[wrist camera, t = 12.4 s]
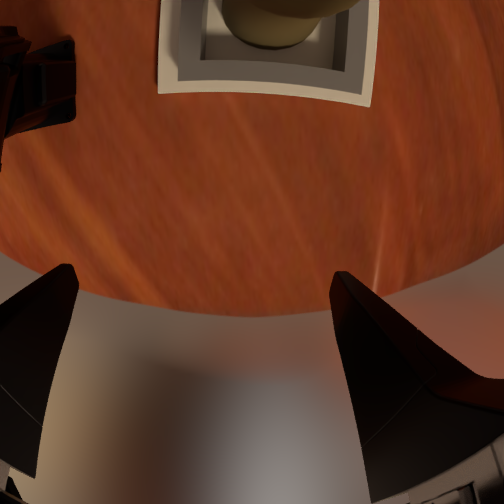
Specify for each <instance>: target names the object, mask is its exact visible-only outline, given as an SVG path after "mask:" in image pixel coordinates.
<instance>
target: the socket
mask: <svg viewBox="0 0 504 504" xmlns="http://www.w3.org/2000/svg"><path fill="white" fill-rule="evenodd" d="M221 12H222V0H161V13H160V29H159V52H158V94H162V93H180V92H250V93H267V94H281V95H291V96H301V97H310V98H317V99H325V100H331V101H338V102H344V103H350V104H355V105H360V106H366V107H370V104H371V96H372V88H373V79H374V70H375V60H376V48H377V35H378V18H379V0H360V1H359V2H358V3H357V4H355V5H354V6H353V7H352V8H349V9H347V10H345V11H342V12H339V13H337V14H334V15H332V16H329V17H323V18H321V20H320V21H319V23H318V24H317V26H316V28H315V29H314V31H313V32H312V33H311V34H310V35H309V36H308V37H307V38H306V39H305V40H304V41H303V42H301V43H299V44H297V45H295V46H293V47H291V48H286V49H281V50H264V49H258V48H255V47H253V46H250V45H247V44H245V43H243V42H242V41H241V40H239V39H238V38H236V37H235V36H234V35H233V34H232V33H231V32H230V30H229V29H228V28H227V26H226V25H225V22H224V19H223V16H222V13H221Z"/></svg>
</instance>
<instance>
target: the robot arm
mask: <svg viewBox="0 0 504 504" xmlns="http://www.w3.org/2000/svg"><path fill="white" fill-rule="evenodd" d="M31 43H32V42H31V41H27V40H25V38H22V37H19V35H18V32H17V27H15V26H0V172H1V166H2V163H1V156H2V149H3V142H4V139H6V138H8V137H10V136H13V135H15V134H17V133H21V132H25V131H29V130H33V129H38V128H42V127H47V126H51V125H56V124H61V123H67V122H70V121H73V120H74V119H75V117H76V105H75V95H76V63H75V62H74V49H75V44H74V41H72V40H65V41H62V42H59V43H56V44H53V45H50V46H47V47H44V48H42V49H39V50H36V51H34V52H31V53H28V54H26V52H27V51H28V50H29V48H30V45H31ZM67 44H69V48H68V49H67V48H66V46H67ZM68 113H70V114H71V117H70V118H69V117H68ZM78 290H79V282H78V279H77V276H76V273H75V270H74V267H73V266H72V265H71V264H60V265H59V266H57V267H55V268H54V269H52V270H51V271H49V272H48V273H46V274H44V275H43V276H41V277H40V278H38V279H37V280H35V281H34V282H32V283H31V284H29V285H28V286H26V287H25V288H23V289H22V290H20V291H19V292H18V293H16V294H15V295H14V296H12V297H11V298H9V299H8V300H6V301H5V302H4V303H2V304H1V305H0V504H28V503H26V502H24V501H23V500H22V498H21V496H20V494H19V492H18V490H17V488H16V486H15V484H14V481H13V479H12V478H11V477H9V476H8V474H9V469H10V467H12V468H13V469H15V470H17V471H19V472H21V473H23V474H25V475H27V476H29V477H32V478H35V476H36V468H37V460H38V459H37V458H38V452H39V445H40V439H41V433H42V426H43V421H44V416H45V411H46V407H47V402H48V398H49V393H50V389H51V385H52V381H53V377H54V374H55V370H56V366H57V363H58V359H59V356H60V352H61V349H62V346H63V343H64V340H65V337H66V334H67V331H68V327H69V324H70V321H71V317H72V312H73V309H74V304H75V301H76V297H77V293H78ZM329 298H330V304H331V311H332V317H333V325H334V331H335V337H336V341H337V345H338V349H339V352H340V356H341V360H342V364H343V368H344V372H345V376H346V380H347V385H348V389H349V393H350V397H351V402H352V406H353V411H354V415H355V420H356V424H357V429H358V434H359V439H360V444H361V447H362V448H361V449H362V454H363V460H364V465H365V471H366V476H367V482H368V487H369V494H370V499H371V503H372V504H373V503H376V502H380V501H383V500H386V499H390V498H393V497H396V496H399V495H402V494H405V493H408V495H409V500H410V503H407V504H504V379H493V378H486V377H483V376H480V375H478V374H476V373H474V372H473V371H472V370H470V369H469V368H467V367H466V366H465V365H463V364H462V363H461V362H459V361H458V360H457V359H455V358H454V357H453V356H451V355H450V354H449V353H447V352H446V351H445V350H443V349H442V348H441V347H439V346H438V345H436V344H435V343H434V342H433V341H432V340H431V339H429V338H428V337H427V336H426V335H424V334H423V333H422V332H421V331H420V330H417V328H416V327H415V326H414V325H413V324H412V323H410V322H409V321H408V320H407V319H405V318H404V317H403V316H402V315H401V314H400V313H398V312H397V311H396V310H395V309H393V308H392V307H391V306H390V305H389V304H387V303H386V302H385V301H384V300H383V299H381V298H380V297H379V296H378V295H376V294H375V293H374V292H373V291H371V290H370V289H369V288H368V287H366V286H365V285H364V284H363V283H361V282H360V281H359V280H358V279H356V278H355V277H354V276H353V275H351V274H350V273H349V272H347V271H337V272H335V274H334V276H333V280H332V283H331V287H330V291H329Z"/></svg>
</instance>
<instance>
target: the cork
mask: <svg viewBox="0 0 504 504" xmlns="http://www.w3.org/2000/svg"><path fill="white" fill-rule="evenodd" d="M359 1H360V0H222V12H221V13H222V16H223V19H224V22H225V25H226V26H227V28H228V29H229V30H230V32H231V33H232V34H233V35H234V36H235V37H236V38H238V39H239V40H241V41H242V42H243V43H245V44H247V45H250V46H253V47H255V48H258V49H264V50H281V49H286V48H291V47H293V46H295V45H297V44H299V43H301V42H303V41H304V40H305V39H306V38H307V37H308V36H309V35H310V34H311V33H312V32H313V31H314V29H315V28H316V26H317V24H318V23H319V21H320V20H321V18H323V17H329V16H332V15H334V14H337V13H339V12H342V11H345V10H347V9H349V8H352V7H353V6H354V5H355V4H357V3H358V2H359Z"/></svg>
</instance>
